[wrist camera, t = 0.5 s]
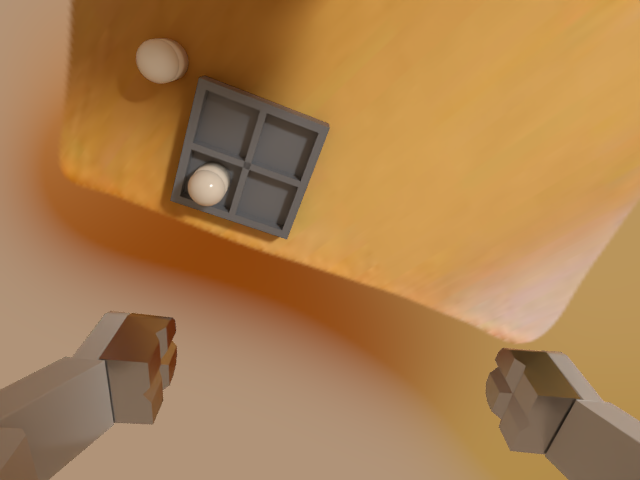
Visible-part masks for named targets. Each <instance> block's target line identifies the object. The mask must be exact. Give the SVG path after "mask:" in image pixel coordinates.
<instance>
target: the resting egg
mask: <svg viewBox="0 0 640 480" xmlns="http://www.w3.org/2000/svg"><path fill="white" fill-rule="evenodd" d="M230 183H231V177H230V173H229V171H228V170H227V169H226V167H224V166H223V165H222V164H220V163H217V162H206V163H204V164H202V165H201V166H200V167H199V168H198V169H197V170H196V171H195V173H194V174H193V175H192V176H191V177H190V179H189V182H188V193H189V195H190V197H191V198H192V200H193V201H195V202H196V203H197V204H199V205H202V206H212V205H215V204H217V203H219V202H220V201H221V200H222V198H223V197H224V195H225V193H226V192H227V190H228V188H229V186H230Z"/></svg>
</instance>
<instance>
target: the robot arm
mask: <svg viewBox="0 0 640 480" xmlns="http://www.w3.org/2000/svg"><path fill="white" fill-rule="evenodd" d="M175 333H176V323H175V320H174V319H173V318H170V317H162V316H154V315H144V314H135V313H131V314H130V313H125V312H115V311H110V312H107V313H106V314H104V316H103V317H102V318H101V320H100V321H99V322H98V324H97V325H96V326H95V328H94V329H93V330H92V331H91V333H90V334H89V335H88V337H87V338H86V339H85V341H84V342H83V344H82V345H81V346H80V347H79V349H78V350H77V351H76V353H75V354H74V355H73V357H71V358H70V357H64V358H62V359H60V360H58V361H56V362H54V363H52V364H50V365H48V366H46V367H44V368H42V369H40V370H38V371H36V372H34V373H32V374H30V375H28V376H27V377H24V378H22V379H21V380H18V381H17V382H15V383H13V384H11V385H9V386H7V387H5V388H3V389H1V390H0V480H49V479H50V478H51V477H52V476H54V475H55V474H56V473H57V472H58V471H60V470H61V469H62V468H63V467H64V466H66V465H67V464H68V463H69V462H70V461H71V460H73V459H74V458H75V457H76V456H77V455H79V454H80V453H81V452H82V451H83V450H85V449H86V448H87V447H88V446H89V445H90V444H92V443H93V442H94V441H95V440H96V439H98V438H99V437H100V436H101V435H102V434H104V432H106V431H107V430H108V429H109V428H111V427H112V426H113V425H114V423H133V424H135V423H136V424H153V423H154V421H155V419H156V416H157V414H158V411H159V409H160V407H161V404H162V402H163V390H164V389H165V388H166V387H168V386H169V385H170V383H171V380H172V378H173V375H174V370H175V366H176V358H177V346H176V345H175V343H174V342H173V341H172V340H173V337H174V335H175ZM495 361H496V363H497V365H498V367H497V368H496V369H495V370H493V371H492V372H491V373H490V374H489V377H488V379H487V382H486V397H487V402H488V404H489V406H490V409H491V411H492V412H493V413H494V414H496V415H497V416H498V417H499V418H500V419H501V422H500V425H499V428H500V430H501V432H502V434H503V436H504V438H505V440H506V442H507V445H508V447H509V449H510V451H517V452H528V453H537V454H546V455H545V457H546V458H547V459H548V460H549V461H550V462H551V463H552V464H553V465H554V466H555V467H556V468H557V469H558V470H559V471H561V473H562V474H563V475H565V476H566V477H567V479H569V480H640V421H638V420H637V419H635V418H634V417H632V416H631V415H629V414H627V413H626V412H624V411H623V410H621V409H620V408H618V407H616V406H615V405H613V404H612V403H610V402H604V401H603V400H602V399H601V398H600V396H599V395H598V394H597V393H596V391H595V390H594V389H593V387H592V386H591V385H590V384H589V382H588V381H587V380H586V379H585V378H584V376H583V375H582V374H581V372H580V371H579V370H578V369H577V367H576V366H575V365H574V364H573V363H572V361H571V360H570V359H569V357H568V356H567V355H565V354H563V353H562V352H555V351H533V350H522V349H509V348H502V349H501V350H500V351H499V352H498V354H497V357H496V359H495Z"/></svg>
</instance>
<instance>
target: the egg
mask: <svg viewBox="0 0 640 480" xmlns="http://www.w3.org/2000/svg"><path fill="white" fill-rule="evenodd" d="M136 63H137V66H138V69H139V71H140V72H141V74H142V75H143V76H144V77H145V78H147V79H148V80H150V81H152V82H154V83H159V84H163V83H168V82H171V81H174V80H177V79H180V78H181V77H183V76H184V74H185V73H186V71H187V69H188V56H187V53H186V51H185V50H184V48H183V47H182V46H181V45H180V44H179V43H178V42H176V41H174V40H172V39H167V38H163V39H149V40H146V41H145V42H143V43H142V44H141V45H140V46H139V48H138V50H137V53H136Z"/></svg>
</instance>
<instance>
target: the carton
mask: <svg viewBox="0 0 640 480" xmlns="http://www.w3.org/2000/svg"><path fill="white" fill-rule="evenodd" d="M329 128H330V127H329V124H328V123H325V122H323V121H320V120H318V119H315V118H313V117H310V116H307V115H305V114H302V113H300V112H297V111H295V110H292V109H289V108H287V107H284V106H282V105H279V104H276V103H274V102H271V101H269V100H266V99H264V98H261V97H258V96H256V95H253V94H251V93H248V92H246V91H243V90H240V89H238V88H235V87H233V86H230V85H228V84H225V83H222V82H220V81H217V80H215V79H212V78H210V77H207V76H202V77H199V80H198V84H197V88H196V93H195V97H194V101H193V106H192V110H191V114H190V118H189V123H188V127H187V131H186V136H185V140H184V144H183V148H182V153H181V157H180V161H179V166H178V170H177V174H176V178H175V183H174V187H173V191H172V196H171V200H170V201H173V202H176V203H179V204H182V205H185V206H188V207H191V208H194V209H197V210H200V211H203V212H206V213H209V214H212V215H215V216H218V217H221V218H224V219H227V220H230V221H233V222H236V223H239V224H242V225H245V226H248V227H251V228H254V229H257V230H260V231H263V232H266V233H269V234H272V235H275V236H278V237H281V238H284V239H287V238H288V235H289V232H290V230H291V227H292V225H293V222H294V219H295V217H296V214H297V212H298V209H299V206H300V204H301V201H302V199H303V196H304V193H305V191H306V188H307V186H308V183H309V180H310V178H311V175H312V173H313V170H314V167H315V165H316V162H317V160H318V157H319V154H320V152H321V149H322V147H323V144H324V141H325V139H326V136H327V134H328V131H329ZM206 162H217V163H220V164H222V165H223V166H224V167H226V169H227V170H228V171H229V173H230V177H231V183H230V186H229V188H228V190H227V192H226V193H225V195H224V197H223V198H222V200H221V201H220V202H219V203H217V204H215V205H212V206H202V205H199V204H197V203H196V202H195V201H193V200H192V198H191V197H190V195H189V193H188V182H189V179H190V177H191V176H192V175H193V174H194V173H195V171H196V170H197V169H198V168H199V167H200V166H201V165H202V164H204V163H206Z"/></svg>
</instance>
